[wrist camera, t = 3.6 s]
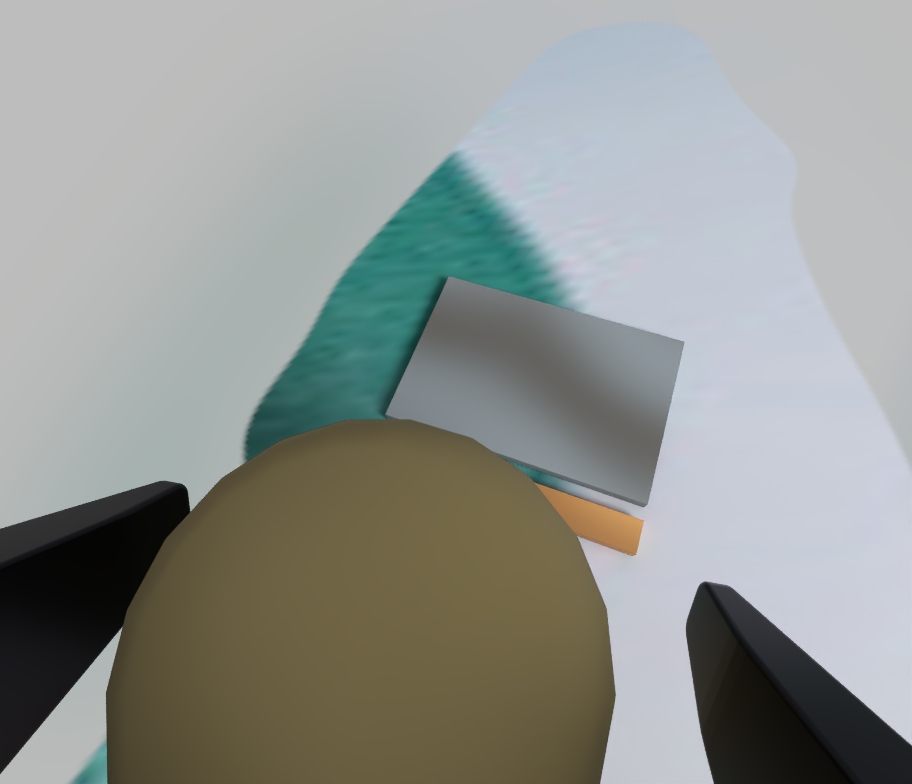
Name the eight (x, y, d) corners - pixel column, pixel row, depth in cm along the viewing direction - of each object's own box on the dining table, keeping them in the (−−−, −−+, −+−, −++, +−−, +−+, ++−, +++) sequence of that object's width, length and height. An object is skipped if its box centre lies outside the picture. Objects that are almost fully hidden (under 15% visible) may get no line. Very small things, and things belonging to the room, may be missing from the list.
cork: (291, 628, 14) (-156, 649, 4) (443, 480, 16) (373, 243, 6) (437, 822, 12) (235, 1677, 2) (595, 632, 14) (878, 664, 4)
